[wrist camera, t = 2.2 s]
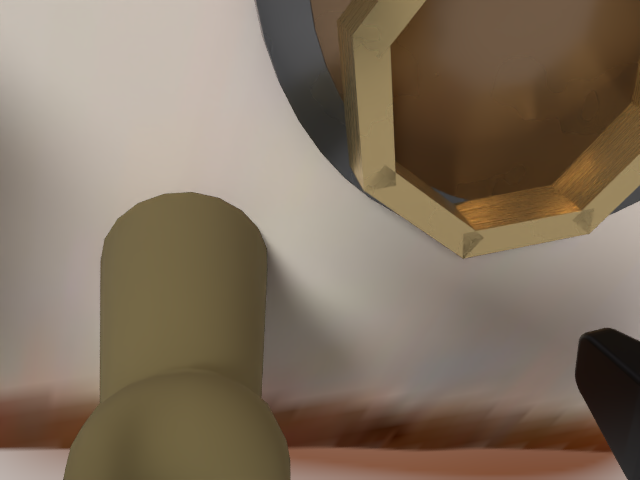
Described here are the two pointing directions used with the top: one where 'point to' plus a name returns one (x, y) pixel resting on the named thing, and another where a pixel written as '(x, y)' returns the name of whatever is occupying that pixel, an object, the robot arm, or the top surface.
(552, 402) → the top surface
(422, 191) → the carrier plate
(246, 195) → the top surface
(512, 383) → the top surface
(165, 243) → the olive pestle
